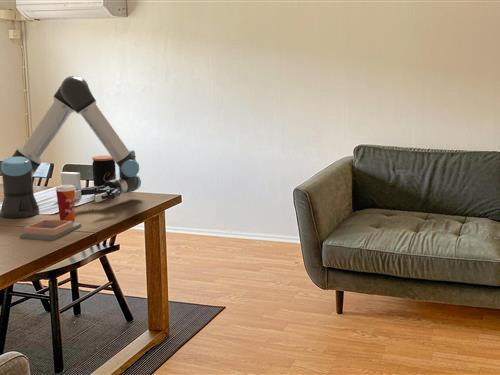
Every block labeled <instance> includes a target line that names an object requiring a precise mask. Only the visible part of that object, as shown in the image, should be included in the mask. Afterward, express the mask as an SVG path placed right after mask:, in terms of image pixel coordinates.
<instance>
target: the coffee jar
mask: <svg viewBox="0 0 500 375" xmlns="http://www.w3.org/2000/svg"><path fill="white" fill-rule="evenodd" d="M91 159H92V176H93V178H92V179H93V180H92V181H93V187H94V186H97V187H100V186H103V185H104V184H105V182H107V181H110V180H113V179H117V177H116V176H117V173H116V162H115V161H114V159H113V158H112V157H111V155H95V156H92V157H91ZM97 193H98V191H97Z"/></svg>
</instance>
